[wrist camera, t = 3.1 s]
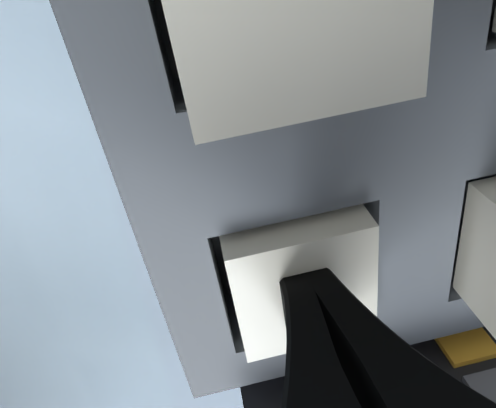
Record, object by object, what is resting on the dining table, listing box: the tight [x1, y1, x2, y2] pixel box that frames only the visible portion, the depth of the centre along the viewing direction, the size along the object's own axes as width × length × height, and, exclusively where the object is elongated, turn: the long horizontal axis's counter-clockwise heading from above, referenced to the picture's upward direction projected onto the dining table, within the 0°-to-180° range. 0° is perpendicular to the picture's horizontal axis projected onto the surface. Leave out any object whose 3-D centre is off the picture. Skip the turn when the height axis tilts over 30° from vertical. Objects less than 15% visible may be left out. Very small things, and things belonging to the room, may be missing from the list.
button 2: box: [219, 204, 379, 363], centre depth 13 cm, size 4×4×3 cm
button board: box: [49, 0, 496, 408], centre depth 12 cm, size 16×18×6 cm
